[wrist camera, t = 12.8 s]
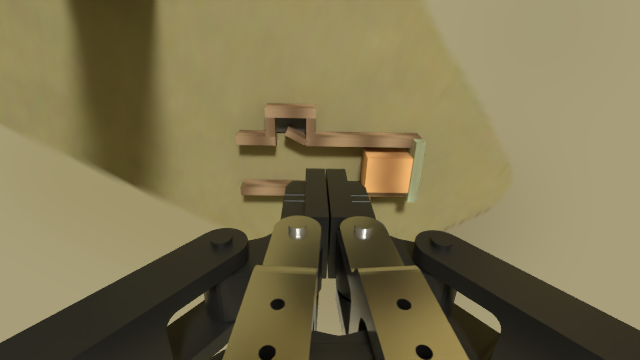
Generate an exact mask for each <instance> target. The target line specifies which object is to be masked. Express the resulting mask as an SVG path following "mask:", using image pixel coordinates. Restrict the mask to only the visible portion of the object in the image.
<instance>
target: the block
mask: <svg viewBox="0 0 640 360" xmlns="http://www.w3.org/2000/svg"><path fill="white" fill-rule="evenodd" d="M412 165H413V158H412V156H411V155H410V154H409V152H408V151H407V150H406V149H392V148H363V158H362V169H361V183H362V185H363V186H364V187H366V190H367V192H369V193H408V190H409V184H410V177H411V171H412Z"/></svg>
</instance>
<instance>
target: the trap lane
mask: <svg viewBox="0 0 640 360" xmlns="http://www.w3.org/2000/svg"><path fill="white" fill-rule="evenodd" d="M265 130H266V131H255V130H240V131H239V132H238V134H237V135H236V141H237V145H272V146H276V142H277V132H285V136H287V137H289V138H291V139H293V140H295V141H297V142H299V143H301V144H302V145H304V146H305V144H306V146H332V147H393V148H406V150H407V151H408V152H409V154H410V155H411V156H412V158H413V165H412V171H411V177H410V184H409V190H408V193H369V192H367V193H368V196H369V199H370V200H371V197H405V199H406V201H407V202H416V199H417V193H418V187H419V181H420V176H421V170H422V164H423V158H424V153H425V147H426V142H425V141H424V140H423V139H422V138H421V137H420V136H419V135H418V134H417V133H366V132H316V104H271V103H267V104H266V106H265ZM304 132H306V133H304ZM291 181H306V180H243V183H242V185H241V195H279V196H284V195H285V188H286V186H287V185H288V184H289V183H290V182H291ZM361 184H362V183H361Z"/></svg>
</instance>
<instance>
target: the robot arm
mask: <svg viewBox="0 0 640 360" xmlns="http://www.w3.org/2000/svg"><path fill="white" fill-rule="evenodd" d="M327 266H328V278H336V303H337V309H338V314H339V319H340V324H341V330H342V336H337V335H332V334H327V333H322V332H318V331H317V317H318V302H319V291H320V290H321V282H322V278H326V273H327ZM457 291H458V292H460V293H461V294H463V295H464V296H466V297H467V298H469V299H471V300H472V301H474V302H476V303H477V304H479V305H480V306H482V307H483V308H485V309H487V310H488V311H490V312H491V313H493V315H495V317H496V318H497V319H498V321H499V322H500V325H501V333H498V332H497V331H495V330H494V329H492V328H490V327H489V326H488V325H486V324H485V323H483V322H482V321H480V320H479V319H477V318H475V317H474V316H473V315H471V314H469V313H468V312H466V311H465V310H464V309H462V308H461V307H459V306H458V305H456V304H455V303H454V300H455V296H456V292H457ZM203 293H204V297H205V300H204V301H203V302H201V303H200V304H198V305H197V306H195V307H194V308H193V309H191V310H190V311H188V312H187V313H185V314H184V315H183V316H181V317H180V318H178V319H177V320H176V321H174V322H173V323H171V324H170V325H169V326H167V324H168V322H169V320H170V318H171V317H172V316H173V315H174V314H175V313H176V312H177V311H178V310H180V309H181V308H183V307H184V306H186V305H187V304H189V303H190V302H191V301H193V300H194V299H196V298H197V297H198V296H200V295H201V294H203ZM227 343H228V345H227V348H226V349H225V350H223V351H221V352H220V353H218V354H216V353H217V352H218V351H219V350H221V349H222V348H223V347H224V346H225V345H226V344H227ZM215 354H216V355H215ZM214 355H215V356H214ZM212 356H213V357H212ZM0 360H640V330H638V329H636V328H634V327H632V326H630V325H628V324H626V323H624V322H622V321H620V320H618V319H616V318H614V317H612V316H610V315H608V314H606V313H605V312H602V311H600V310H598V309H597V308H595V307H593V306H591V305H589V304H587V303H585V302H583V301H581V300H579V299H577V298H575V297H573V296H571V295H569V294H567V293H565V292H563V291H561V290H560V289H558V288H556V287H554V286H552V285H550V284H548V283H546V282H544V281H542V280H540V279H538V278H536V277H534V276H532V275H530V274H528V273H526V272H524V271H522V270H520V269H518V268H516V267H514V266H513V265H510V264H509V263H507V262H505V261H502V260H501V259H499V258H497V257H495V256H493V255H491V254H489V253H487V252H485V251H483V250H481V249H479V248H477V247H475V246H473V245H471V244H469V243H468V242H466V241H463V240H462V239H460V238H458V237H456V236H453V235H451V234H449V233H446V232H442V231H435V230H429V231H424V232H421V233H419V234H418V235H417V236H416V239H415V242H411V241H406V240H401V239H397V238H395V237H392V236H390V235H389V233H388V231H387V229H386V227H385V226H384V225H383V223H381V222H380V221H378V220H376V218H375V215H374V212H373V209H372V205H371V202H370V199H369V196H368V193H367V190H366V187H364V186H363V185H362V184H361V183H360V182H358V181H347V176H346V172H345V169H326V175H325V169H308V168H306V181H291V182H290V183H289V184H288V185H287V186H286V188H285V195H284V201H283V208H282V214H281V220H280V221H278V222H277V223H276V225H275V227H274V230H273V233H272V234H270V235H268V236H266V237H263V238H259V239H254V240H249V241H248V239H247V236H246V234H245V233H244V232H242V231H240V230H237V229H233V228H221V229H216V230H213V231H210V232H208V233H206V234H204V235H202V236H200V237H198V238H197V239H194V240H193V241H191V242H189V243H187V244H185V245H183V246H181V247H179V248H177V249H176V250H174V251H172V252H170V253H168V254H166V255H164V256H162V257H161V258H159V259H157V260H155V261H153V262H152V263H149V264H147V265H146V266H144V267H142V268H140V269H138V270H136V271H134V272H132V273H131V274H129V275H127V276H125V277H123V278H121V279H119V280H117V281H116V282H114V283H112V284H110V285H108V286H106V287H105V288H102V289H101V290H99V291H97V292H95V293H93V294H91V295H89V296H87V297H86V298H84V299H82V300H80V301H78V302H76V303H74V304H72V305H71V306H69V307H67V308H65V309H63V310H61V311H59V312H57V313H56V314H54V315H52V316H50V317H48V318H46V319H44V320H42V321H41V322H39V323H37V324H35V325H33V326H31V327H29V328H27V329H26V330H24V331H22V332H20V333H18V334H16V335H14V336H13V337H11V338H9V339H7V340H5V341H3V342H1V343H0Z"/></svg>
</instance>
